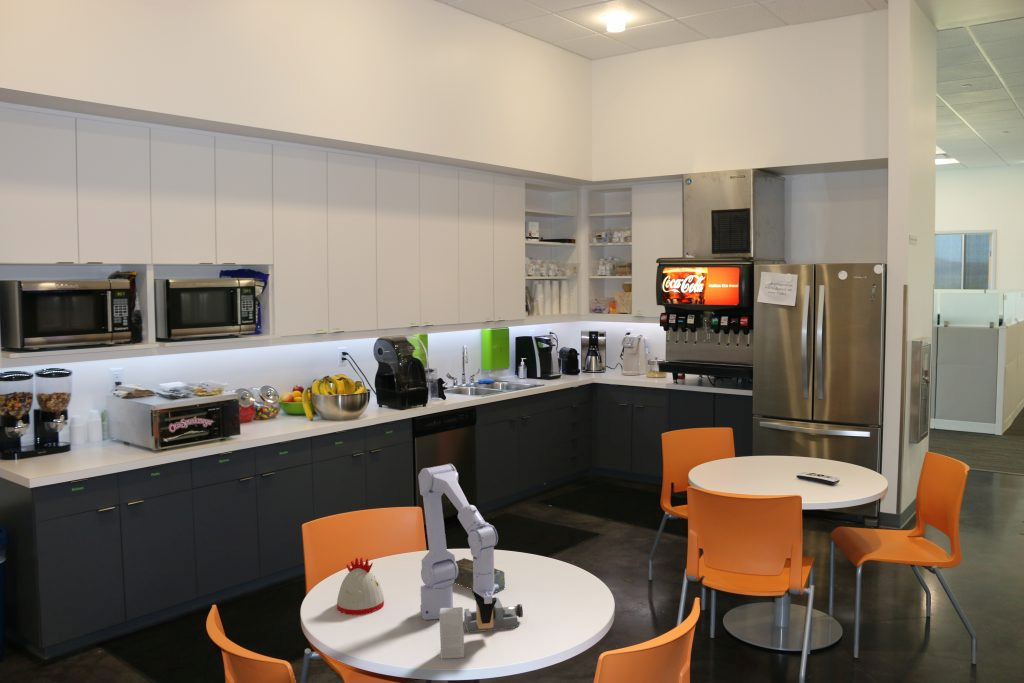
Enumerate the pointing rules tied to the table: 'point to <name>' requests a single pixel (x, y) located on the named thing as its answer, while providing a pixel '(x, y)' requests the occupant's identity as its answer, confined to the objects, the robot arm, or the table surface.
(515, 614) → the shaft
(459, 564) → the beverage carton
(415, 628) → the table surface
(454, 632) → the skincare box
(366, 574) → the chicken head dome
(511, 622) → the housing
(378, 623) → the table surface
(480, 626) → the block
